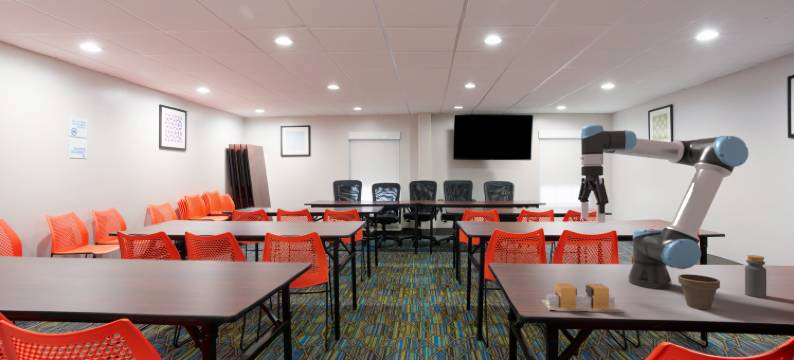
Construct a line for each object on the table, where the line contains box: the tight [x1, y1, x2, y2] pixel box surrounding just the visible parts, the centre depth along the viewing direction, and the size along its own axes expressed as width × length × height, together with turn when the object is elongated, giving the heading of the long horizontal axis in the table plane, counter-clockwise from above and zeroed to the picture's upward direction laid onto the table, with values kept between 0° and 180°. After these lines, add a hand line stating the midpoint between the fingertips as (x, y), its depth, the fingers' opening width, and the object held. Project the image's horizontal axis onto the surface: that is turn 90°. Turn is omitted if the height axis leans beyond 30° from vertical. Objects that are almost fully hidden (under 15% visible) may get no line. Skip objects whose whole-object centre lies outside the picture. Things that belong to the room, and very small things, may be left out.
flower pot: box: [677, 273, 721, 310], centre depth 130 cm, size 12×11×10 cm
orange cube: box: [554, 282, 578, 307], centre depth 130 cm, size 6×6×6 cm
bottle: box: [744, 254, 767, 299], centre depth 141 cm, size 6×6×15 cm
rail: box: [540, 283, 623, 313], centre depth 130 cm, size 24×9×8 cm, turn 86°
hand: (592, 220), depth 144 cm, fingers open, 13 cm apart
